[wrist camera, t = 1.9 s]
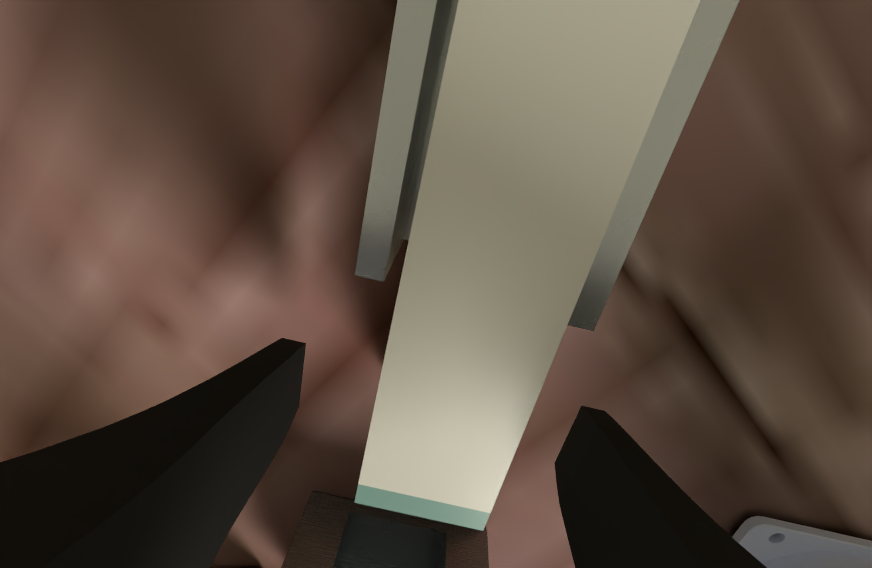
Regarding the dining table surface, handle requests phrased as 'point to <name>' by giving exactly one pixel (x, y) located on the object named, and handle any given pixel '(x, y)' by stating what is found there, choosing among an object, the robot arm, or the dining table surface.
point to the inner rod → (507, 234)
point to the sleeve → (413, 119)
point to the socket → (379, 539)
